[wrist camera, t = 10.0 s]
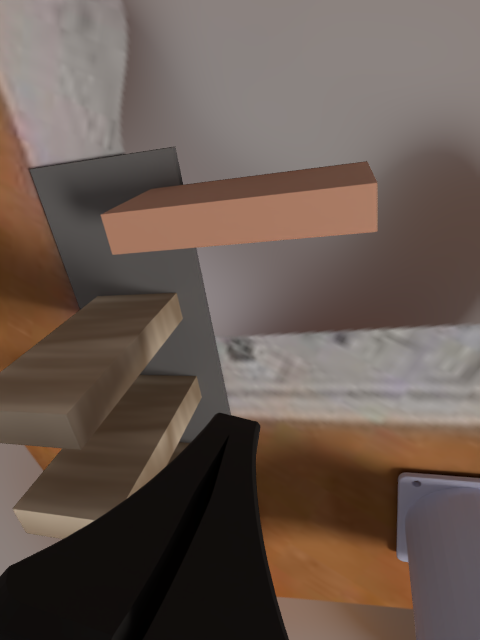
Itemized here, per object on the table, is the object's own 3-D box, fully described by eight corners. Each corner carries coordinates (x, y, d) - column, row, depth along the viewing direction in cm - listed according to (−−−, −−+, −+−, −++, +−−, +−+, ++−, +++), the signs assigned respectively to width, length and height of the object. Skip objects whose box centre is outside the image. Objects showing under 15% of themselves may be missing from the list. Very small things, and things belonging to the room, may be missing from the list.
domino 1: (97, 296, 24) (-46, 408, 16) (176, 292, 23) (65, 414, 14) (105, 320, 25) (-28, 441, 16) (182, 318, 23) (81, 449, 15)
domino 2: (123, 374, 26) (12, 508, 18) (196, 376, 25) (112, 522, 16) (130, 394, 27) (26, 533, 19) (201, 397, 26) (123, 548, 17)
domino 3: (100, 214, 16) (377, 182, 13) (151, 188, 20) (367, 161, 18) (112, 254, 16) (377, 231, 14) (158, 221, 21) (367, 199, 18)
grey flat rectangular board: (175, 146, 19) (171, 147, 19) (252, 520, 31) (251, 525, 30) (35, 168, 22) (29, 169, 21) (155, 508, 33) (153, 513, 33)
